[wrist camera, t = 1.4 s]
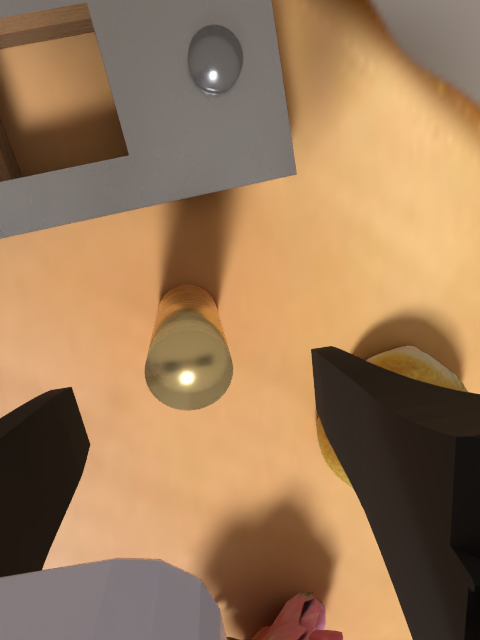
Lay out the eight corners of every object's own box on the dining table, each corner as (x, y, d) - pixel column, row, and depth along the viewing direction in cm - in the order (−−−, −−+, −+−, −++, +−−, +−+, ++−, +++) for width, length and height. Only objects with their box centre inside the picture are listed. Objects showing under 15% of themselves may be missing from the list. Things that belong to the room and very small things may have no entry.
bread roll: (288, 439, 23) (308, 486, 20) (382, 320, 22) (423, 347, 18) (384, 492, 26) (418, 543, 22) (475, 388, 24) (529, 424, 20)
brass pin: (166, 346, 20) (158, 419, 14) (151, 292, 19) (133, 342, 13) (222, 332, 20) (240, 398, 14) (209, 278, 19) (222, 321, 13)
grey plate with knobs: (-106, 260, 17) (-163, 273, 14) (-226, 24, 14) (-327, -18, 11) (282, 176, 18) (300, 173, 16) (246, -58, 15) (260, -115, 13)
